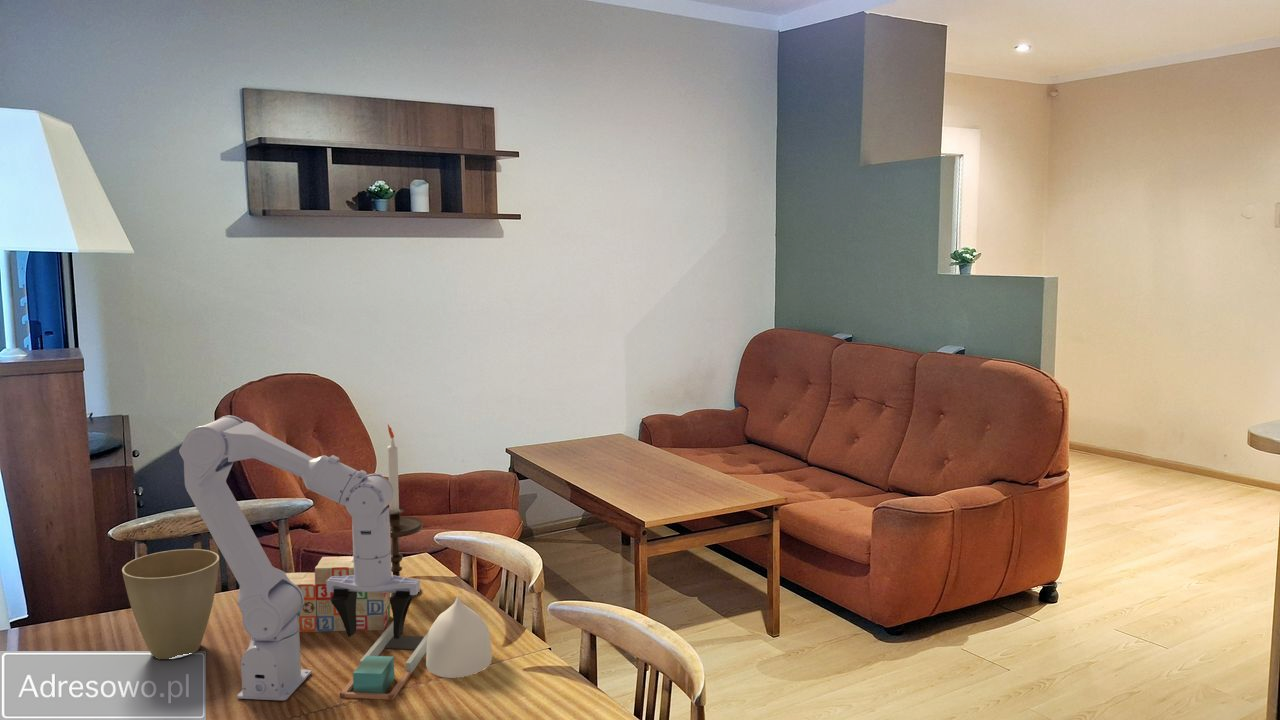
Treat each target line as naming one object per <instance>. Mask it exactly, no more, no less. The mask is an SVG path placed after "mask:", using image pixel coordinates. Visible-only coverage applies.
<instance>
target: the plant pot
mask: <svg viewBox="0 0 1280 720" xmlns="http://www.w3.org/2000/svg"><path fill="white" fill-rule="evenodd" d="M219 564H220V555H219V554H218V553H216V552H214V551H211V550H208V549H199V548H185V549H184V548H183V549H171V550H165V551H159V552H154V553H150V554H147V555H143V556H141V557H138V558H135V559H132V560H130V561H129V562H127V563H126V564H125V565H124V566H122V569H121V572H122V576H123V581H124V585H125V590H126V594H127V598H128V601H129V605H130V609H131V611H132V613H133V616H134V619H135V621H136V623H137V626H138V627H137V628H138V629H139V632H140V634H141V635H142V638H143V640H144V642H145V645H146V646H147V648H148V650H149V652H150V654H151V655H153V656H155V657H157V658H158V659H157V660H160V659H169V658H172V657H175V656H177V655H183V654H189V653H193V652H195V653H196V652H197V651H198V650H199V649H200V647H201V644H202V641H203V638H204V635H205V632H206V629H207V626H208V623H209V619H210V615H211V613H212V607H213V603H214V599H215V594H216V589H217V582H218V575H219V574H218V573H219V566H220V565H219ZM193 654H194V653H193ZM153 656H152V657H153Z"/></svg>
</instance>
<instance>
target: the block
mask: <svg viewBox="0 0 1280 720" xmlns="http://www.w3.org/2000/svg"><path fill="white" fill-rule="evenodd" d="M352 678H353V686H354V687H353V692H357V693H379V694H386V692H387V691H388V689H389V688H390V686H391V685H392V684H393V682H394V680H395V656H390V655H389V656H388V655H387V656H384V655H378V656H366V657H365V659H364V660H363V661H362V662H361V664H360V663H359V665H358V666H357V667H356V668H355V670H354V671H353V672H352Z"/></svg>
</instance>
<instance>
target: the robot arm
mask: <svg viewBox="0 0 1280 720" xmlns="http://www.w3.org/2000/svg"><path fill="white" fill-rule="evenodd" d="M178 453H179V455H180V456H181V458H182V460H183V476H184V487H185V489H186V492H187V493H188V495H189V497H190V499H191V500H192V502H193V505H194V507H195V508H196V510H197V512H198V514H199V515H200V517H201V519H202V520H203V522H204V525H206V528H207V529H208V531H209V533H210V535H211V537H212V538H213V541H214V542H215V543H216V545H217V547H218V549H219V551H220V552H221V555H222V556H223V558H224V560H225V562H226V563H227V565H228V568H229V569H230V571H231V572H232V575H233V576H234V578H235V580H236V581H237V583H238V585H239V590H238V597H237V606H238V607H239V609H240V612H241V615H242V616H241V617H242V621H241V622H242V625H243V629H244V630H245V632H246V633H247V634H248V635H249V636H250V641H249V645H248V647H247V650H245V651H244V653H243V655H242V657H241V660H240V670H241V672H240V673H241V687H242V688H241V689H242V690H241V691H240V692H239V693H237V695H236V696H237V697H236V698H237V699H239V700H241V699H244V700H266V701H286V700H288V699H289V698H290V697H291V696H292V694H293V693H295V691H296V690H297V689H298V688H299V687H300V686H301V685H302V684H303V683H304V681H305V680H306V679H307V678H308V677H309V676H310V675H311V674H312V670H310V669H301V668H302V667H301V666H302V665H301V644H300V641H301V640H300V632H299V623H298V620H297V614H298V613H299V612H300V611H301V609H302V607H303V604H304V596H303V593H302V591H301V589H300V588H299V587H298V586H297V585H295V584H294V583H293V582H291V581H290V580H289V579H288V577H287V575H286V574H285V573H286V572H285V571H284V570H281V569H279V568H276V567H275V566H273V565H272V562H271V561H270V559H269V558H268V555H267V554H266V551H265V550H264V549H263V546H262V545H261V542H260V541H259V539H258V537H257V536H256V534H255V532H254V530H253V529H252V526H251V525H250V523H249V520H248V519H247V517H246V516H245V514H244V512H243V510H242V509H241V507H240V505H239V504H238V500H236V498H235V496H234V493H233V491H232V490H231V489H230V487H229V485H228V483H227V479H228V477H229V474H230V472H231V470H232V467H233V464H234V462H239V461H243V460H249V459H255V460H258V461H260V462H263V463H266V464H267V465H270V466H273V467H275V468H278V469H280V470H282V471H285V472H287V473H290V474H293V475H294V476H298V477H300V478H301V479H302V481H303V484H304V485H305V488H306V489H307V490H310V491H311V492H314V493H315V494H319V495H320V496H322V497H324V498H326V499H329V500H331V501H332V502H333V501H334V502H335V503H337V504H339V505H342V506H345V509H346V511H347V513H348V514H349V516H351V519H352V521H351V522H352V529H351V531H352V532H351V533H352V552H353V553H352V556H353V561H354V575H349V576H331V577H330V578H329V579H328V580H327V581H326V585H327V592H334V594H333V596H332V597H331V603H332V604H333V605H334V607H335V608H336V610H337V611H338V613H339V615H340V617H341V619H342V621H343V624H344V626H345V630H346V631H345V633H346V636H347V637H348V638H351V637H353V636H354V635H355V634H356V633H357V631H356V627H357V623H356V598H357V592H384V593H396V595H395V596H393V598H392V599H391V600H390V609H391V612H392V620H393V621H392V622H394V623H393V633H394V639H399V638H400V636H403V633H404V625H405V622H406V621H405V620H406V617H407V614H408V610H409V608H410V605H411V603H412V600H413V598H414V597H413V596H414V595H416V596H417V594H418V592H419V593H420V592H421V583H420V582H421V581H420V579H419V578H410V577H405V576H395V575H393V572H392V571H391V567H392V562H391V554H392V538H390V522H389V507H388V506H389V503H390V502H391V500H392V498H393V488H392V485H391V483H390V482H389V479H387V478H386V477H384V476H383V475H382V474H380V473H369V474H367V471H365V470H363V469H361V470H357V469H355V468H353V467H351V466H349V465H346V464H344V463H342V462H340V457H339V456H336V455H335V454H332V455H330V456H327V455H325V454H324V455H320V456H318V457H312V456H310V455H308V454H306V453H305V452H302V451H301V450H299V449H297V448H295V447H294V446H292V445H289V444H288V443H286V442H284V441H282V440H280V439H278V438H276V437H274V436H273V435H271V434H269V433H267V432H266V431H264V430H262V429H261V428H259V427H258V426H257V425H256V424H254V423H253V422H250V421H244V420H243V419H242V418H240V417H239V416H238V417H237V416H235V415H224V416H221V417H219V418H218V419H216V420H214V421H212V422H209V423H206V424H204V425H200V426H197V427H194V428H192V429H191V430H190V431H188V433H187V434H186V435H185V437H184V439H183V442H182V444H181V445H180V448H179V450H178ZM418 595H419V594H418Z"/></svg>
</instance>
